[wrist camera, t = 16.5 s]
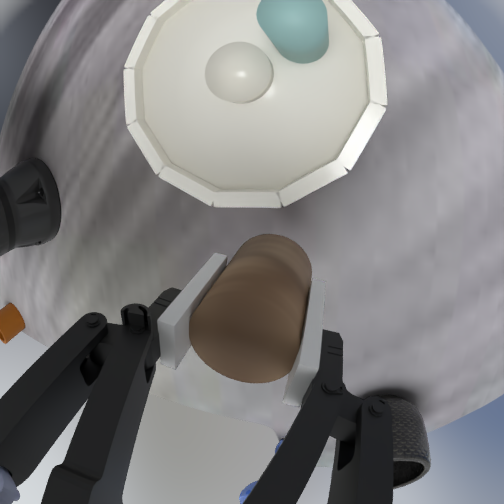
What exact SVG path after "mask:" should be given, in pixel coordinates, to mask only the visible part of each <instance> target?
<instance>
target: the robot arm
mask: <svg viewBox="0 0 504 504" xmlns="http://www.w3.org/2000/svg"><path fill="white" fill-rule="evenodd" d="M59 225H60V201H59V195H58V191H57V187H56V184H55V181H54V179H53V177H52V174H51V173H50V171H49V169H48V168H47V166H46V165H45V164H44V163H43V162H42V161H40V160H39V159H36V158H32V159H28V160H25V161H22V162H20V163H18V164H17V165H16V166H15V167H13V168H12V169H10V170H9V171H8V172H7V173H5V174H4V175H3V176H2V177H0V256H2V255H3V254H5V253H7V252H9V251H10V250H12V249H14V248H18V247H27V246H33V245H41V244H44V243H46V242H48V241H50V240H51V239H53V238H54V237H55V236H56V234H57V232H58V229H59ZM226 264H227V255H223V254H219V253H214V254H213V255H212V257H211V258H210V259H209V260H208V261H207V262H206V263H205V265H204V266H203V267H202V268H201V269H200V270H199V272H198V273H197V274H196V275H195V276H194V277H193V278H192V280H191V281H190V282H189V283H188V284H187V285H186V287H185V288H184V289H183V290H179V289H175V288H170V289H168V290H166V291H164V292H163V293H162V294H161V295H160V296H159V297H158V298H157V299H156V300H155V301H154V303H152V304H151V306H150V307H149V308H148V307H146V306H145V305H142V304H129V305H127V306H125V307H123V308H122V310H121V317H122V323H123V325H118V324H112V323H107V319H106V317H105V316H104V315H102V314H101V313H97V312H91V313H88V314H86V315H84V316H83V317H81V318H80V319H79V320H78V321H77V322H76V323H75V324H74V325H73V326H72V327H71V328H70V329H69V330H68V331H66V332H65V333H64V334H63V335H62V336H61V337H60V338H59V339H58V340H57V341H56V342H55V343H54V344H53V345H52V346H51V347H50V348H49V349H48V350H47V351H46V352H45V353H44V354H43V355H42V356H41V357H40V358H39V359H38V360H37V361H36V362H35V363H34V364H33V365H32V366H31V367H30V368H29V369H28V370H27V371H26V372H25V373H24V374H23V375H22V376H21V377H20V378H19V379H18V380H17V382H16V383H14V385H13V386H12V387H11V388H10V389H9V390H8V391H7V392H6V393H5V394H4V395H3V396H2V398H1V399H0V504H12V502H13V501H17V500H19V498H20V494H19V491H18V490H17V488H16V487H17V486H19V485H20V484H22V483H23V482H24V481H25V480H26V479H27V478H28V477H29V476H30V475H31V474H32V473H33V471H34V470H35V469H36V467H37V466H38V464H39V463H40V462H41V460H42V459H43V458H44V456H45V455H46V453H47V452H48V451H49V449H50V448H51V447H52V445H53V444H54V443H55V441H56V440H57V439H58V437H59V436H60V435H61V433H62V432H63V431H64V429H65V428H66V426H67V425H68V424H69V423H70V421H71V420H72V419H73V417H74V416H75V415H76V413H77V412H78V411H79V409H80V408H81V407H82V406H83V404H84V403H85V402H86V401H87V403H86V406H85V408H84V410H83V413H82V415H81V417H80V420H79V422H78V425H77V427H76V430H75V432H74V435H73V438H72V440H71V443H70V445H69V449H68V451H67V454H66V457H65V460H64V461H63V463H62V464H60V465H57V466H55V467H54V468H53V469H52V472H51V474H50V477H49V479H48V482H47V485H46V489H45V492H44V495H43V499H42V502H41V504H123V503H122V494H123V489H124V485H125V481H126V476H127V472H128V468H129V464H130V460H131V455H132V452H133V448H134V444H135V440H136V436H137V433H138V429H139V425H140V422H141V418H142V414H143V411H144V408H145V404H146V401H147V397H148V394H149V390H150V387H151V384H152V380H153V377H154V374H155V371H156V361H157V360H158V359H159V357H160V361H161V364H162V365H165V366H167V367H170V368H172V369H175V370H176V368H177V367H178V365H179V364H180V362H181V360H182V359H183V357H184V356H185V354H186V352H187V351H188V349H189V348H190V346H191V342H190V339H189V321H190V318H191V316H192V314H193V313H194V311H195V310H196V309H197V307H198V306H199V304H200V303H201V302H202V300H203V299H204V297H205V296H206V295H207V293H208V292H209V290H210V289H211V288H212V286H213V285H214V283H215V282H216V281H217V279H218V278H219V276H220V275H221V274H222V272H223V271H224V269H225V268H226ZM325 285H326V281H324V280H320V279H316V278H312V281H311V284H310V288H309V294H308V301H307V308H306V314H305V320H304V326H303V332H302V338H301V343H300V349H299V352H298V354H297V357H296V360H295V362H294V365H293V367H292V370H291V371H290V372H289V376H288V380H287V385H286V389H285V394H284V398H283V402H282V403H283V404H287V405H291V406H295V407H300V405H301V410H300V411H299V413H298V415H297V417H296V419H295V420H294V422H293V424H292V426H291V428H290V429H289V431H288V433H287V435H286V436H285V438H284V440H283V442H282V443H281V445H280V447H279V448H278V450H277V452H276V453H275V455H274V457H273V458H272V460H271V461H270V463H269V465H268V466H267V468H266V470H265V471H264V472H263V474H262V476H261V477H260V479H259V480H258V482H257V483H256V485H255V486H254V488H253V489H252V490H251V492H250V493H249V495H248V496H247V498H246V499H245V500H244V502H243V503H242V504H296V503H297V501H298V499H299V497H300V495H301V494H302V492H303V490H304V488H305V486H306V484H307V482H308V480H309V478H310V476H311V474H312V472H313V470H314V468H315V466H316V464H317V462H318V460H319V458H320V456H321V453H322V451H323V449H324V447H325V445H326V442H327V440H328V438H329V436H331V437H333V438H336V448H335V456H334V464H333V472H332V479H331V485H330V492H329V498H328V503H327V504H392V502H393V430H392V413H391V408H390V405H389V404H388V403H387V401H385V400H384V399H382V398H380V397H377V396H371V397H368V398H366V399H365V400H362V399H360V398H358V397H356V396H354V395H352V394H351V393H350V392H348V391H347V390H346V387H345V384H344V383H343V380H342V375H343V340H342V338H341V336H340V334H339V333H336V332H332V331H328V330H324V329H323V317H324V302H325ZM87 399H88V400H87ZM301 403H302V404H301Z"/></svg>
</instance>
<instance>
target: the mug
mask: <svg viewBox="0 0 504 504" xmlns="http://www.w3.org/2000/svg"><path fill="white" fill-rule="evenodd" d="M24 328H25V323H24V320H23V318H22V316H21V314H20V312H19V311H18V310H17V308H16V307H15V306H14V305H13V304H12V303H9V304H8V305H6V306H5V307H4V308H2V309H1V310H0V339H1V341H2V342H3V343H5V344H6V343H8V342H9V341H10V340H11V339H12V338H13V337H14V336H16V335H17V334H18V333H19V332H21V331H22V330H23V329H24Z"/></svg>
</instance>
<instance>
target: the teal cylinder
mask: <svg viewBox="0 0 504 504" xmlns="http://www.w3.org/2000/svg"><path fill="white" fill-rule="evenodd" d="M256 16H257V21H258V24H259V25H260V27H261V28H262V30H263V31H264V32H265V34H266V35H267V36H268V38H269V39H270V40H271V42H272V43H273V44H274V46H275V47H276V49H277V50H278V51H279V53H280V54H281V55H282V56H283V57H284V58H286V59H287V60H289V61H292V62H295V63H300V64H305V63H311V62H314V61H317V60H318V59H320V58H321V57H322V56H323V55H324V54H325V53H326V52H327V49H328V46H329V32H328V17H327V9H326V6H325V4H324V2H323V1H322V0H261V2H260V3H259V5H258V8H257V12H256Z"/></svg>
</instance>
